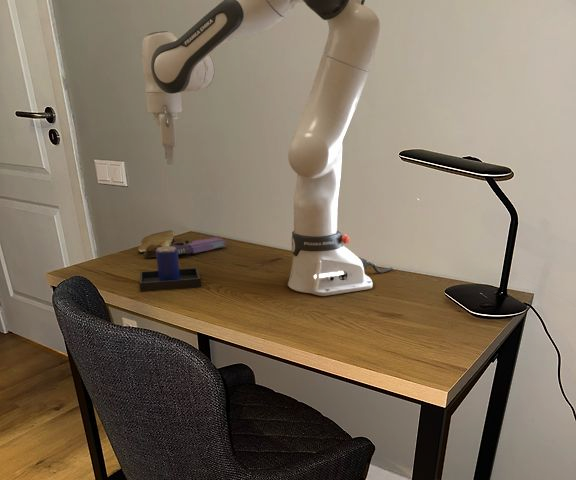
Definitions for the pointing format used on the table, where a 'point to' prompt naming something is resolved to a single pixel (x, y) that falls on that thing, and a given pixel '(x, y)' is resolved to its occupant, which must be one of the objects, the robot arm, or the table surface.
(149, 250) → the stone tool
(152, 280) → the tray
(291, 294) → the table surface
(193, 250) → the toy gun
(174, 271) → the can
